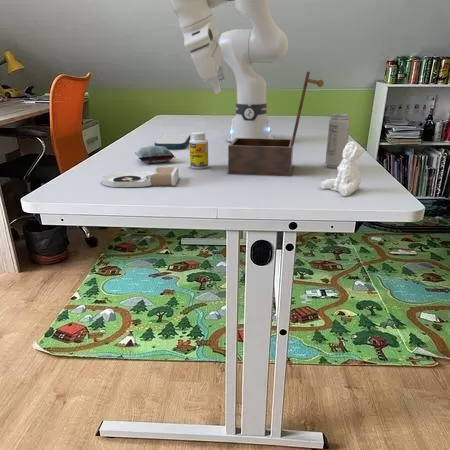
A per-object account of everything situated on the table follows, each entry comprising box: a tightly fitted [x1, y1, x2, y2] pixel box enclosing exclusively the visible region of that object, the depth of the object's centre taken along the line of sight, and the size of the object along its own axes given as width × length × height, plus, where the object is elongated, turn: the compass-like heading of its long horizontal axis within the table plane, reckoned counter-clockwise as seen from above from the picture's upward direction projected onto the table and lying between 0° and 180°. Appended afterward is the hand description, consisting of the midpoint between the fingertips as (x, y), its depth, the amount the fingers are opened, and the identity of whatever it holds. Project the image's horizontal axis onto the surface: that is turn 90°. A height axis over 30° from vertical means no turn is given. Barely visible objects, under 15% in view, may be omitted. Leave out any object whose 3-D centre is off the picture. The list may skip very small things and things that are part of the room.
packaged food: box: [133, 145, 176, 164], centre depth 146 cm, size 9×12×5 cm
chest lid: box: [291, 69, 325, 147], centre depth 127 cm, size 19×14×5 cm
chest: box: [227, 138, 294, 177], centre depth 135 cm, size 18×14×8 cm
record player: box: [101, 166, 180, 188], centre depth 123 cm, size 12×3×20 cm
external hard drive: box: [154, 133, 191, 149], centre depth 175 cm, size 24×12×2 cm, turn 178°
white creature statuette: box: [320, 140, 366, 197], centre depth 113 cm, size 10×9×12 cm
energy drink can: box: [324, 113, 351, 169], centre depth 137 cm, size 6×6×15 cm
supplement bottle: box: [188, 131, 209, 170], centre depth 137 cm, size 6×6×10 cm
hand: (220, 86), depth 124 cm, fingers open, 8 cm apart
